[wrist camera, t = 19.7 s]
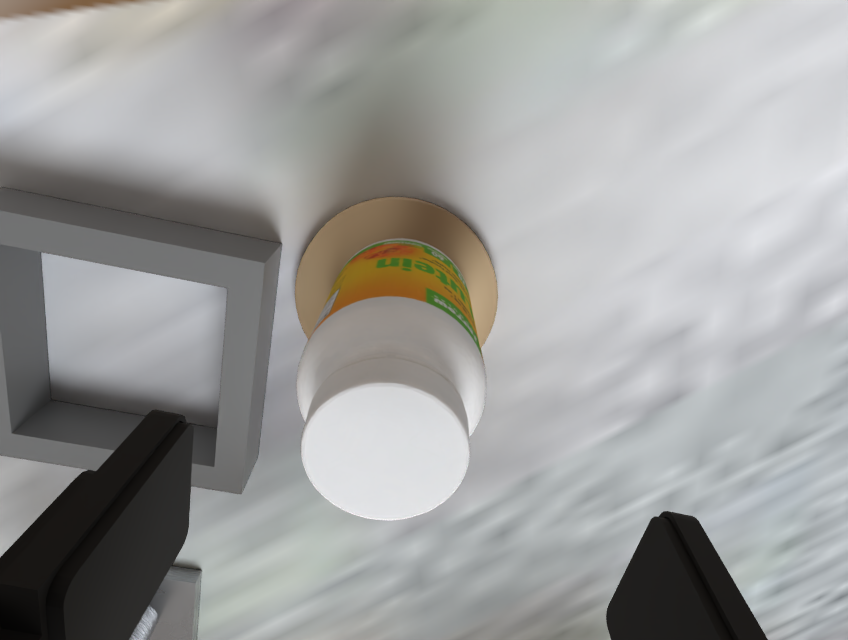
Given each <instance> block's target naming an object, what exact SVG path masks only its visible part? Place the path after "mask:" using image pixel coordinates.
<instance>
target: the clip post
mask: <svg viewBox="0 0 848 640" xmlns="http://www.w3.org/2000/svg"><path fill="white" fill-rule="evenodd" d="M201 573H202V571H201V570H195V569H188V568H181V567H175V566H171V567H170V569H169V571H168V573H167V574H166V576H165V578H164V580H163V581H162V583H161V585H160V587H159V588H158V590H157V592H156V593H155V595H154V597H153V599H152V600H151V602H150V604H149V606H148V607H147V609H146V611H145V613H144V614H143V616H142V618H141V620H140V621H139V623H138V625H137V627H136V628H135V630H134V632H133V634H132V635H131V637H130V639H129V640H197V631H198V616H199V602H200V587H201Z"/></svg>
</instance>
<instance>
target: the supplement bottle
mask: <svg viewBox="0 0 848 640" xmlns="http://www.w3.org/2000/svg"><path fill="white" fill-rule="evenodd" d="M296 388H297V398H298V404H299V408H300V411H301V414H302V416H303V419H304V421H305V425H304V429H303V433H302V437H301V456H302V462H303V465H304V468H305V471H306V474H307V476H308V477H309V479H310V481H311V482H312V484H313V485H314V487H315V488H316V489H317V490H318V492H319V493H320V494H321V495H322V496H323V497H325V498H326V499H327V500H328V501H330V502H331V503H332V504H334V505H335V506H337V507H339V508H340V509H342V510H344V511H346V512H349V513H351V514H354V515H357V516H361V517H364V518H368V519H376V520H399V519H406V518H411V517H414V516H418V515H421V514H423V513H426V512H428V511H430V510H432V509H434V508H435V507H437V506H438V505H440V504H442V503H443V502H444V501H446V500H447V499H448V498H449V497H450V496H451V495H452V494H453V493H454V492H455V490H456V489H457V488H458V487H459V485H460V484H461V482H462V480H463V478H464V476H465V474H466V471H467V468H468V464H469V459H470V439H469V437H470V436H471V435H472V433H473V432H474V430H475V428H476V426H477V425H478V423H479V420H480V418H481V415H482V412H483V409H484V405H485V399H486V373H485V366H484V361H483V357H482V353H481V348H480V344H479V340H478V335H477V330H476V325H475V320H474V316H473V311H472V305H471V300H470V295H469V292H468V289H467V285H466V282H465V280H464V278H463V276H462V274H461V272H460V270H459V269H458V268H457V266H456V265H455V264H454V263H453V261H452V260H451V259H450V258H449V257H448V256H446V255H445V254H444V253H443V252H441V251H440V250H438V249H437V248H435V247H433V246H431V245H429V244H427V243H424V242H421V241H417V240H413V239H405V238H395V239H386V240H382V241H378V242H375V243H373V244H371V245H368V246H366V247H365V248H363V249H361V250H360V251H358V252H357V253H356V254H355V255H354V256H352V257H351V258H350V259H349V261H348V262H347V263H346V264H345V265H344V267H343V268H342V270H341V271H340V273H339V275H338V277H337V279H336V281H335V283H334V285H333V287H332V289H331V291H330V294H329V296H328V298H327V300H326V303H325V305H324V307H323V309H322V312H321V314H320V316H319V318H318V321H317V323H316V325H315V327H314V329H313V331H312V333H311V335H310V337H309V339H308V341H307V343H306V346H305V348H304V351H303V354H302V357H301V360H300V363H299V367H298V372H297V383H296Z"/></svg>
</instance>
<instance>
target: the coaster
mask: <svg viewBox="0 0 848 640" xmlns="http://www.w3.org/2000/svg"><path fill="white" fill-rule="evenodd" d="M395 238H405V239H413V240H417V241H421V242H424V243H427V244H429V245H431V246H433V247H435V248H437V249H438V250H440V251H441V252H443V253H444V254H445V255H446V256H448V257H449V258H450V259H451V260H452V261H453V263H454V264H455V265H456V266H457V268H458V269H459V270H460V272H461V274H462V276H463V278H464V280H465V282H466V285H467V289H468V292H469V295H470V300H471V305H472V311H473V316H474V320H475V325H476V330H477V335H478V340H479V344H480V348H481V347H482V346H483V344H484V343H485V341H486V339H487V337H488V335H489V333H490V331H491V328H492V326H493V323H494V320H495V315H496V311H497V301H498V292H497V282H496V277H495V272H494V269H493V266H492V264H491V261H490V258H489V256H488V254H487V252H486V250H485V248H484V246H483V244H482V243H481V241H480V240H479V238H478V237H477V236H476V234H475V233H474V232H473V231H472V230H471V229H470V228H469V227H468V226H467V225H466V224H465V223H464V222H463V221H462V220H460V219H459V218H458V217H457V216H455V215H454V214H452V213H451V212H449V211H447V210H446V209H444V208H442V207H440V206H437V205H435V204H433V203H430V202H427V201H423V200H420V199H415V198H408V197H383V198H375V199H371V200H367V201H364V202H361V203H358V204H356V205H353V206H351V207H349V208H347V209H345V210H344V211H342V212H340V213H338V214H337V215H336V216H335V217H333V218H332V219H331V220H329V221H328V222H327V223H326V224H325V225H324V226H323V227H322V228H321V229H320V230H319V232H318V233H317V234H316V236H315V237H314V238H313V240H312V241H311V243H310V244H309V245H308V247H307V249H306V251H305V253H304V255H303V257H302V259H301V262H300V265H299V268H298V272H297V277H296V283H295V301H296V309H297V313H298V317H299V320H300V323H301V326H302V328H303V331H304V333H305V334H306V336H307V338H308V339H309V337H310V335H311V333H312V331H313V329H314V327H315V325H316V323H317V321H318V318H319V316H320V314H321V312H322V309H323V307H324V305H325V303H326V300H327V298H328V296H329V294H330V291H331V289H332V287H333V285H334V283H335V281H336V279H337V277H338V275H339V273H340V271H341V270H342V268H343V267H344V265H345V264H346V263H347V262H348V261H349V259H350V258H351V257H352V256H354V255H355V254H356V253H357V252H358V251H360V250H361V249H363V248H365V247H366V246H368V245H371V244H373V243H375V242H378V241H382V240H386V239H395Z"/></svg>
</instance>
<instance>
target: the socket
mask: <svg viewBox="0 0 848 640" xmlns="http://www.w3.org/2000/svg"><path fill="white" fill-rule="evenodd" d="M281 248H282V244H281V243H276V242H271V241H266V240H261V239H256V238H251V237H246V236H241V235H236V234H231V233H226V232H221V231H216V230H212V229H207V228H202V227H197V226H192V225H187V224H182V223H177V222H172V221H167V220H162V219H157V218H152V217H147V216H142V215H137V214H133V213H128V212H123V211H118V210H113V209H108V208H103V207H98V206H93V205H88V204H83V203H78V202H73V201H68V200H63V199H58V198H54V197H49V196H44V195H39V194H34V193H29V192H24V191H19V190H14V189H9V188H4V187H2V188H0V455H1V456H7V457H14V458H20V459H26V460H32V461H38V462H44V463H51V464H57V465H63V466H69V467H75V468H81V469H88V470H94V471H97V470H98V469H99V467H100V466H101V465H102V464H103V463H104V462H105V461H106V460H107V459H108V458H109V456H110V455H111V454H112V453H113V452H114V451H115V450H116V449H117V448H118V447H119V446H120V444H121V443H122V442H123V441H124V440H125V439H126V438H127V437H128V436H129V435H130V433H131V432H132V431H133V430H134V429H135V428H136V427H137V426H138V425H139V424H140V423H141V421H142V420H143V419H144V418H145V417H146V416H141V415H135V414H129V413H123V412H117V411H112V410H106V409H100V408H94V407H88V406H82V405H77V404H71V403H65V402H59V401H53V400H51V394H50V380H49V365H48V351H47V337H46V322H45V308H44V294H43V279H42V265H41V252H43V253H48V254H54V255H59V256H64V257H69V258H74V259H79V260H85V261H90V262H95V263H100V264H105V265H110V266H116V267H121V268H126V269H131V270H136V271H141V272H146V273H152V274H157V275H162V276H167V277H172V278H177V279H183V280H188V281H193V282H198V283H203V284H208V285H214V286H219V287H224V288H228V291H227V304H226V318H225V331H224V345H223V358H222V372H221V385H220V399H219V412H218V426H217V429H216V428H211V427H205V426H199V425H193V424H191V425H193V428H194V434H193V454H192V473H191V486H192V487H199V488H205V489H211V490H217V491H223V492H229V493H236V494H242V492H243V490H244V488H245V485H246V483H247V481H248V479H249V476H250V474H251V472H252V470H253V467H254V465H255V463H256V460H257V458H258V453H259V444H260V435H261V426H262V417H263V408H264V399H265V390H266V381H267V373H268V364H269V355H270V346H271V337H272V328H273V319H274V310H275V301H276V293H277V284H278V275H279V266H280V257H281ZM186 424H187V423H186Z"/></svg>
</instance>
